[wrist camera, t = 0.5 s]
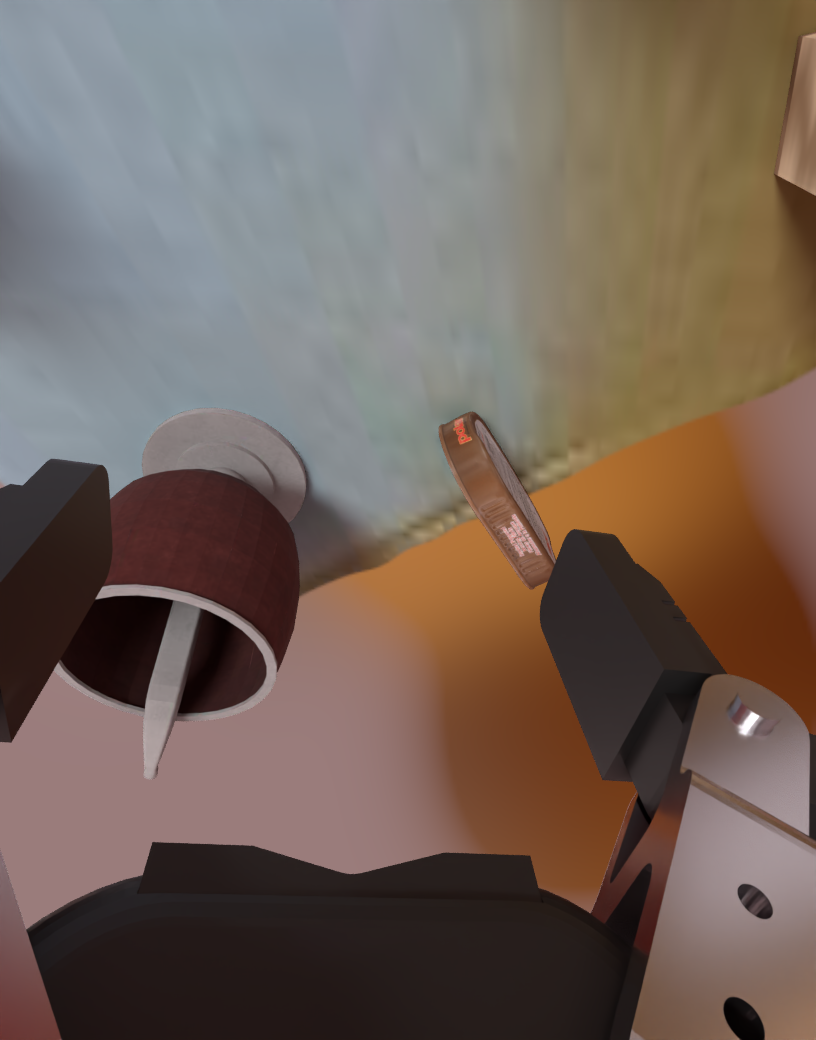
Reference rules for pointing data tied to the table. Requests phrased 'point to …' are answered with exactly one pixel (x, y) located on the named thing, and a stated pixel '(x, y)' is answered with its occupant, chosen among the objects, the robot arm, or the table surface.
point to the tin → (498, 497)
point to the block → (800, 120)
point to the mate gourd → (195, 577)
